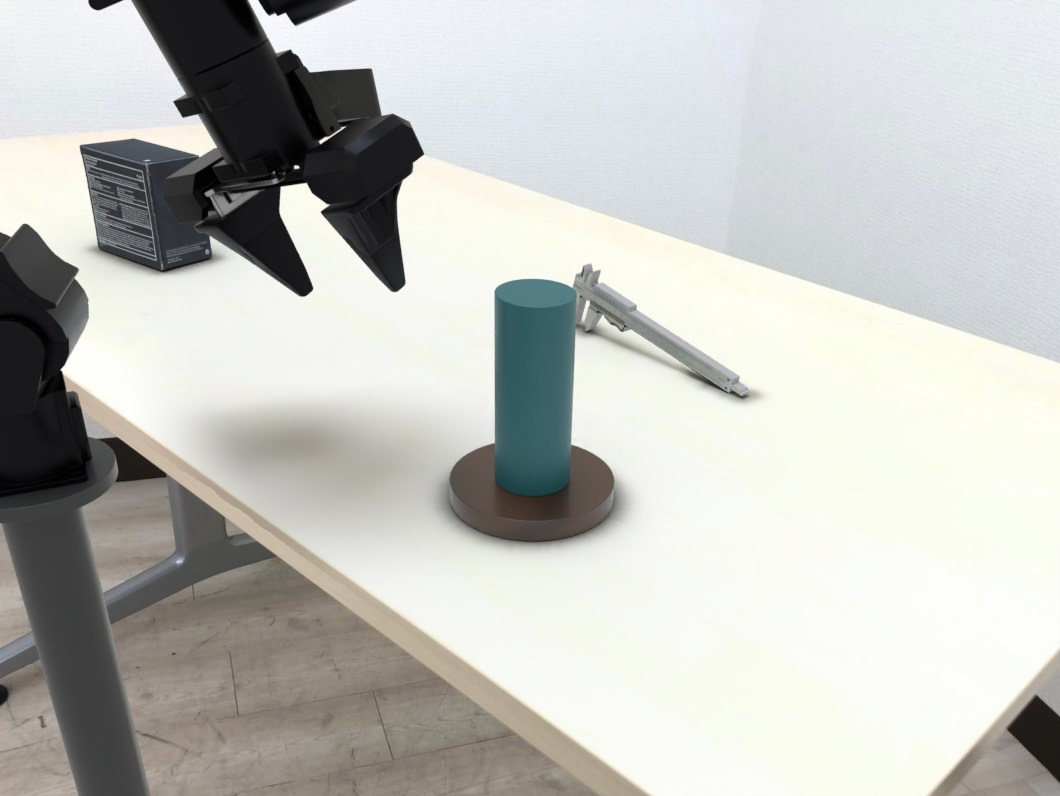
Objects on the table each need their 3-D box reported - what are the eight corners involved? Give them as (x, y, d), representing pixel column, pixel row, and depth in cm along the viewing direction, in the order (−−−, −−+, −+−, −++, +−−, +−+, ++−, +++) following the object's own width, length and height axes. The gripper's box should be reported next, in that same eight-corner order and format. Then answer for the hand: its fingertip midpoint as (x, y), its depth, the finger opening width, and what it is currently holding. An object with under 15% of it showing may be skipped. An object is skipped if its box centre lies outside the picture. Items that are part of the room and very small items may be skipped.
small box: (218, 257, 107) (203, 153, 102) (162, 272, 102) (144, 164, 97) (151, 235, 112) (134, 134, 106) (95, 249, 107) (75, 144, 102)
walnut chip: (488, 557, 64) (488, 536, 63) (426, 474, 72) (425, 456, 71) (643, 518, 69) (644, 499, 68) (568, 445, 77) (569, 427, 76)
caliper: (569, 326, 98) (571, 261, 94) (577, 323, 98) (579, 258, 95) (742, 399, 86) (751, 328, 83) (749, 395, 87) (759, 325, 84)
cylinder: (479, 481, 69) (477, 294, 62) (521, 452, 73) (524, 273, 66) (543, 504, 67) (548, 313, 60) (583, 472, 71) (592, 290, 64)
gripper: (418, -24, 60) (524, 221, 69) (226, 33, 71) (338, 239, 79) (287, 52, 53) (422, 313, 62) (96, 103, 64) (234, 319, 72)
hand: (351, 291), depth 69 cm, fingers open, 9 cm apart
